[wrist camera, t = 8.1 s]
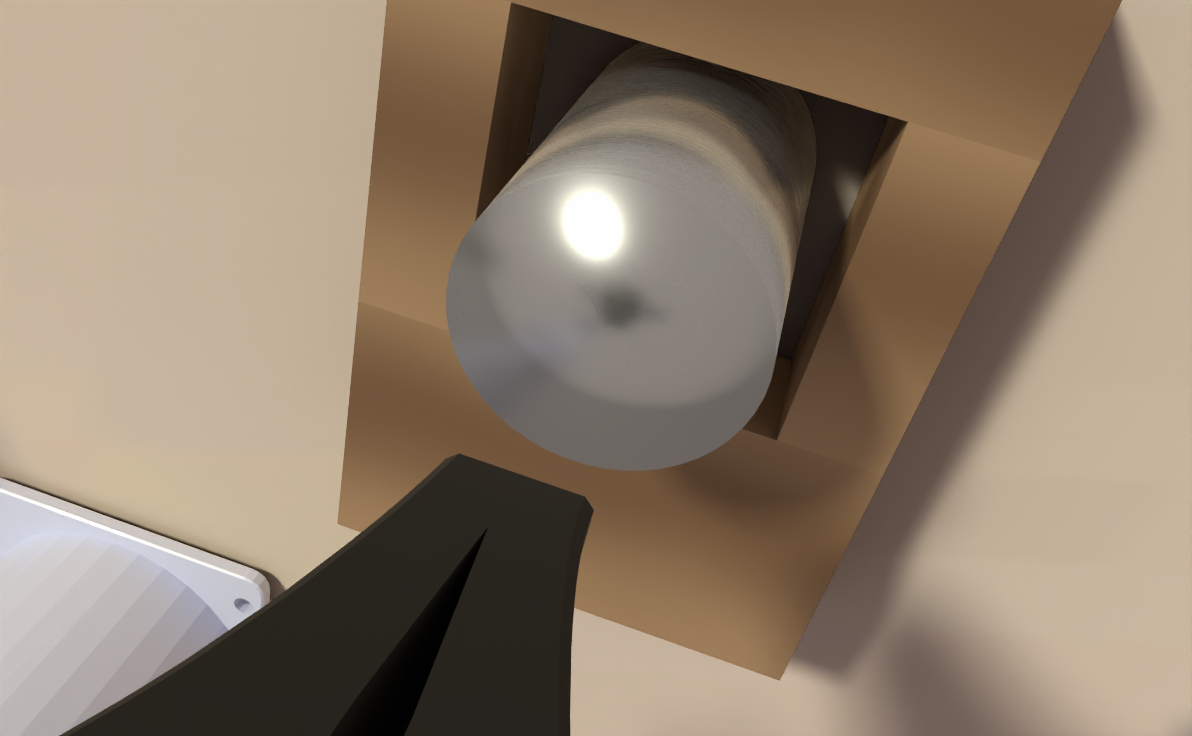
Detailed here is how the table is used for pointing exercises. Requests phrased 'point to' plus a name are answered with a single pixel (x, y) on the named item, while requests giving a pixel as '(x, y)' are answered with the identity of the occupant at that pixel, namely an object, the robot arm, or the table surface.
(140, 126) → the table surface
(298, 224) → the table surface
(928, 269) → the jig
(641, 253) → the brushed metal cylinder
